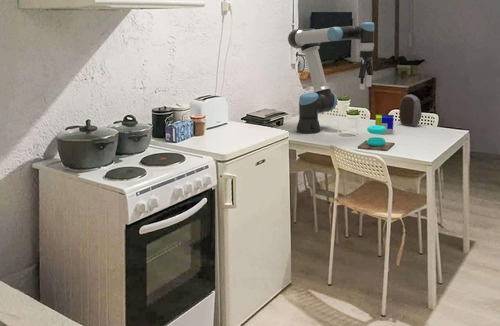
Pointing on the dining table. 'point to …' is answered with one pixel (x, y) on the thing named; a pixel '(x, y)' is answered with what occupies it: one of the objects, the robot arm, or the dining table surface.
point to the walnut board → (381, 148)
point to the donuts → (376, 140)
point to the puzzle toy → (385, 122)
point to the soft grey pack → (410, 110)
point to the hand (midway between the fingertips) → (365, 87)
